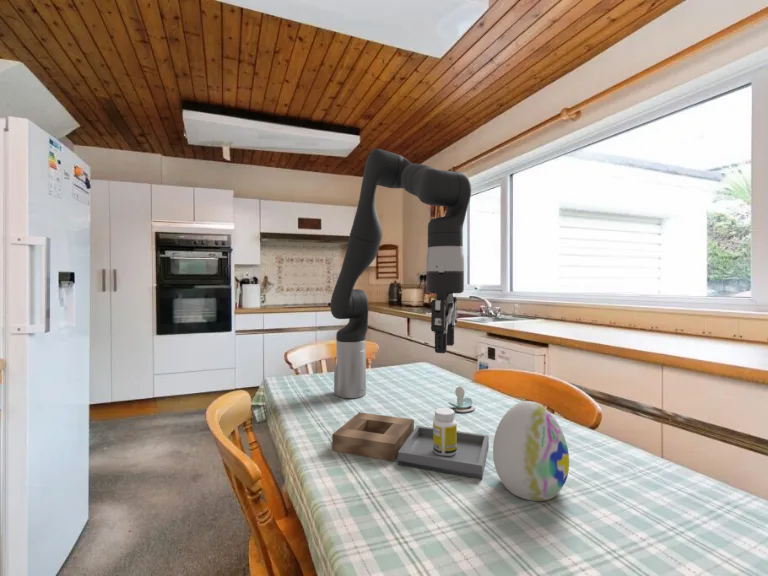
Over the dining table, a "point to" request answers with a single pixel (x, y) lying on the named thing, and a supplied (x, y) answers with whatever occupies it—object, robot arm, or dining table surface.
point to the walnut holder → (373, 436)
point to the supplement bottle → (444, 432)
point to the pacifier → (462, 406)
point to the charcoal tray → (462, 463)
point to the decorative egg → (531, 452)
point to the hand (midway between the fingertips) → (444, 348)
